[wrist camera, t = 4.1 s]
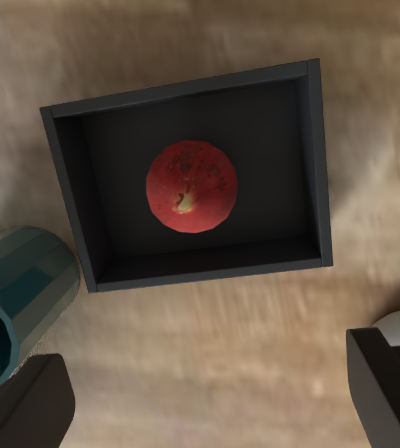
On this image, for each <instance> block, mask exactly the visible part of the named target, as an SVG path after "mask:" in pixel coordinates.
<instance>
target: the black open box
mask: <svg viewBox="0 0 400 448" xmlns="http://www.w3.org/2000/svg"><path fill="white" fill-rule="evenodd" d="M40 112H41V116H42V120H43V123H44V127H45V131H46V135H47V138H48V142H49V146H50V150H51V153H52V157H53V161H54V165H55V168H56V172H57V176H58V180H59V183H60V187H61V191H62V195H63V198H64V202H65V206H66V210H67V213H68V217H69V221H70V225H71V228H72V232H73V236H74V240H75V243H76V247H77V251H78V255H79V258H80V262H81V266H82V270H83V274H84V277H85V281H86V285H87V289H88V292H89V294H90V293H98V292H108V291H117V290H126V289H135V288H144V287H152V286H161V285H170V284H179V283H188V282H197V281H206V280H214V279H223V278H232V277H241V276H250V275H259V274H268V273H276V272H285V271H294V270H303V269H312V268H321V267H330V266H333V256H332V240H331V225H330V209H329V194H328V179H327V163H326V148H325V132H324V117H323V102H322V86H321V71H320V59H319V58H316V59H311V60H307V61H306V60H305V61H299V62H293V63H288V64H282V65H277V66H271V67H265V68H260V69H254V70H248V71H243V72H237V73H231V74H226V75H220V76H215V77H209V78H203V79H198V80H192V81H186V82H181V83H175V84H169V85H164V86H158V87H153V88H147V89H141V90H136V91H130V92H124V93H119V94H113V95H107V96H102V97H96V98H91V99H85V100H79V101H74V102H68V103H62V104H57V105H51V106H46V107H41V108H40ZM183 140H195V141H205V142H208V143H209V144H211V145H213V146H214V147H216V148H217V149H219V150H221V151H222V152H224V154H225V155H226V156H227V158H228V159H229V161H230V162H231V163H232V165H233V166H234V168H235V172H236V177H237V181H238V188H237V197H236V202H235V204H234V206H233V208H232V209H231V211H230V213H229V215H228V217H227V218H226V219H225V220H223V221H222V222H221V223H219V224H218V225H217V226H216V227H214V228H213V229H209V230H205V231H202V232H198V233H190V232H179V231H177V230H175V229H172V228H170V227H168V226H166V225H164V224H163V223H162V222H161V221H160V220H159V219H158V218H157V217H156V216H155V215H154V214H153V213H152V211H151V208H150V205H149V202H148V198H147V195H146V177H147V175H148V172H149V170H150V167H151V165H152V163H153V161H154V160H155V159H156V158H157V157H158V156H159V155H160V154H161V153H162V152H163V151H164V150H165V149H166V147H167V146H170V145H172V144H175V143H178V142H181V141H183Z"/></svg>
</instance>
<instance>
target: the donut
mask: <svg viewBox="0 0 400 448" xmlns="http://www.w3.org/2000/svg"><path fill="white" fill-rule="evenodd" d="M371 327H378V328H379V330H380V331H381V332H382V334H383V335H384V337H385V338H386V340H387V341H388V343H389V344H390V346H399V345H400V311H397V312H393V313H390V314H388V315H387V316H385V317H384V318H382V319H380V320H379V321H377V322H376V323H374V324H373V325H372V326H371Z"/></svg>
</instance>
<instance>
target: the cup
mask: <svg viewBox="0 0 400 448" xmlns="http://www.w3.org/2000/svg"><path fill="white" fill-rule="evenodd" d="M79 283H80V275H79V269H78V265H77V262H76V260H75V258H74V256H73V254H72V253H71V251H70V250H69V248H68V247H67V246H66V245H65V244H64V243H63V242H62V241H61V240H60V239H59V238H57V237H56V236H54V235H53V234H51V233H49V232H47V231H45V230H43V229H39V228H36V227H31V226H17V227H12V228H9V229H6V230H3V231H1V232H0V385H1V384H2V383H4V382H5V381H6V380H8V379H9V378H10V377H12V376H13V374H14V373H15V372H16V371H17V370H18V368H19V367H20V366H21V365H22V363H23V362H24V361H25V360H26V359H27V357H28V356H29V355H30V354H31V352H32V351H33V350H34V349H35V348H36V346H37V345H38V344H39V343H40V341H41V340H42V339H43V338H44V337H45V335H46V334H47V333H48V332H49V330H50V329H51V328H52V327H53V326H54V324H55V323H56V322H57V321H58V319H59V318H60V317H61V316H62V315H63V313H64V312H65V311H66V310H67V308H68V307H69V305H70V304H71V303H72V301H73V300H74V298H75V297H76V295H77V292H78V289H79Z"/></svg>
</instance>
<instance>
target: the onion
mask: <svg viewBox="0 0 400 448" xmlns="http://www.w3.org/2000/svg"><path fill="white" fill-rule="evenodd" d="M237 188H238V181H237V177H236V172H235V168H234V166H233V165H232V163H231V162H230V161H229V159H228V158H227V156H226V155H225V154H224V152H222V151H221V150H219V149H217V148H216V147H214V146H213V145H211V144H209V143H208V142H205V141H195V140H183V141H181V142H178V143H175V144H172V145H170V146H167V147H166V149H165V150H164V151H163V152H162V153H161V154H160V155H159V156H158V157H157V158H156V159H155V160H154V161H153V163H152V165H151V167H150V170H149V172H148V175H147V177H146V195H147V198H148V202H149V205H150V208H151V211H152V213H153V214H154V215H155V216H156V217H157V218H158V219H159V220H160V221H161V222H162V223H163V224H164V225H166V226H168V227H170V228H172V229H175V230H177V231H179V232H190V233H198V232H202V231H205V230H209V229H213V228H214V227H216V226H217V225H218V224H219V223H221V222H222V221H223V220H225V219H226V218H227V217H228V215H229V213H230V211H231V209H232V208H233V206H234V204H235V202H236V197H237Z"/></svg>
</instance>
